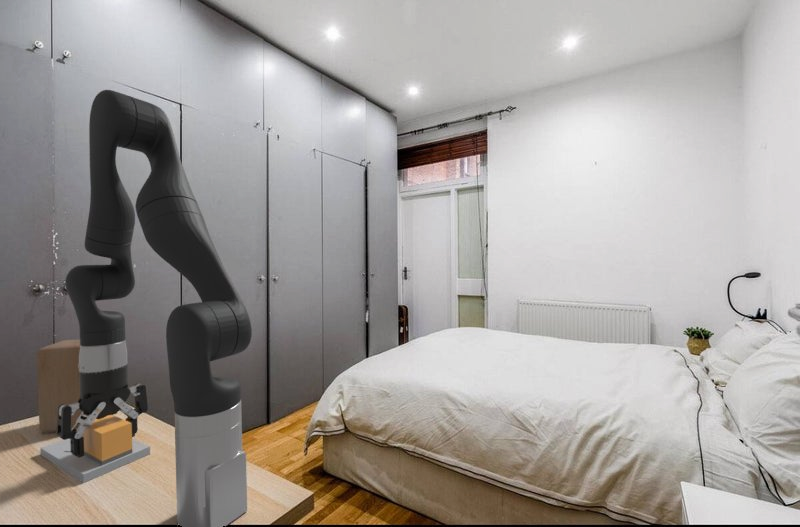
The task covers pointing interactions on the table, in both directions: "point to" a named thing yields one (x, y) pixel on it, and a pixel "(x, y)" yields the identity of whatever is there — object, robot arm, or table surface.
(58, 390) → the block
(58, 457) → the board
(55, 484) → the table surface
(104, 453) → the block
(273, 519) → the table surface
